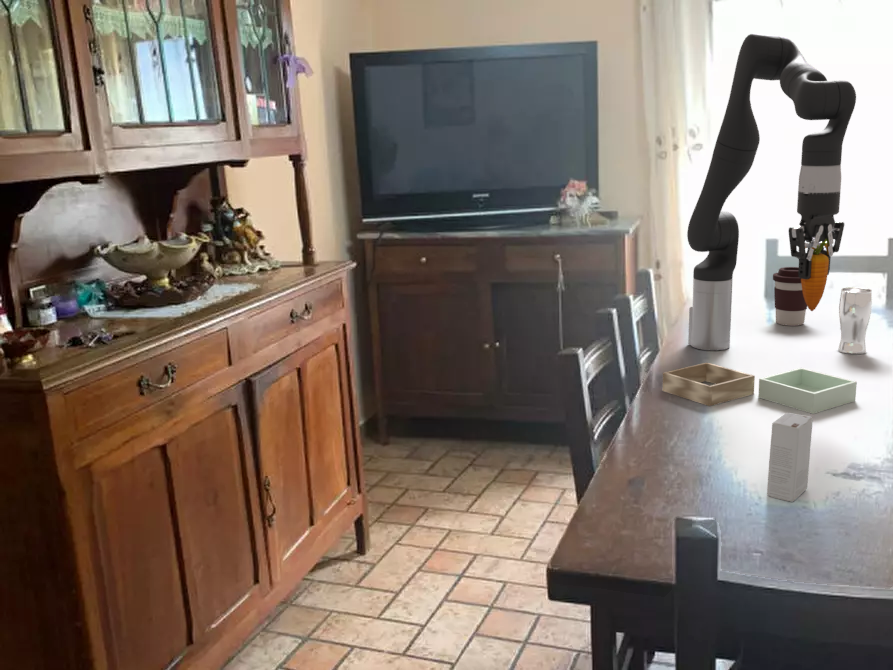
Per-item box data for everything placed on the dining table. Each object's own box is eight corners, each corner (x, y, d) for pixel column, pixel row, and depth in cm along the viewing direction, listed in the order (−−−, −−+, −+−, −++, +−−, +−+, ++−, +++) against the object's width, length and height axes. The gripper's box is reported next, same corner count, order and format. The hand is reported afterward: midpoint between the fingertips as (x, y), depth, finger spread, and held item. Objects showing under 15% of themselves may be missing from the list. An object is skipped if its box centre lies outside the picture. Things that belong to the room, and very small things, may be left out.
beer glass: (871, 355, 213) (876, 292, 209) (839, 354, 214) (844, 292, 210) (864, 348, 219) (868, 287, 216) (833, 347, 221) (837, 286, 217)
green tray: (758, 397, 185) (759, 378, 184) (800, 385, 192) (801, 367, 191) (813, 413, 174) (814, 393, 173) (855, 400, 181) (856, 381, 180)
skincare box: (780, 483, 143) (784, 410, 140) (809, 490, 140) (814, 416, 137) (765, 496, 138) (769, 421, 135) (795, 504, 135) (799, 427, 132)
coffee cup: (812, 321, 248) (816, 267, 244) (805, 328, 240) (808, 272, 236) (775, 317, 253) (778, 264, 249) (766, 325, 245) (769, 270, 241)
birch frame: (662, 390, 191) (662, 372, 191) (706, 380, 198) (706, 362, 197) (709, 406, 181) (710, 387, 180) (753, 394, 187) (754, 375, 186)
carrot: (824, 308, 180) (829, 233, 177) (826, 314, 176) (831, 237, 172) (797, 307, 182) (802, 233, 178) (798, 313, 177) (803, 236, 174)
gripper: (826, 185, 180) (820, 270, 184) (777, 190, 172) (773, 278, 177) (860, 187, 173) (853, 275, 178) (811, 193, 166) (806, 284, 170)
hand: (813, 276), depth 177 cm, fingers closed on carrot, 5 cm apart
